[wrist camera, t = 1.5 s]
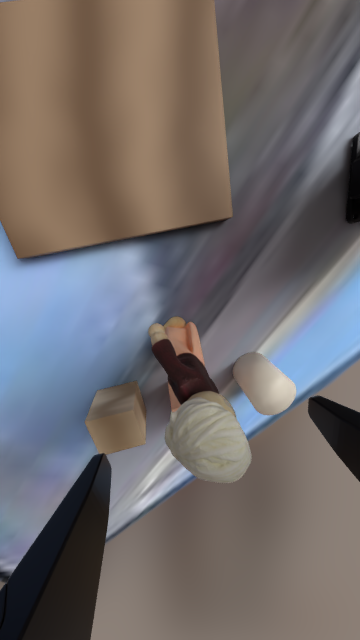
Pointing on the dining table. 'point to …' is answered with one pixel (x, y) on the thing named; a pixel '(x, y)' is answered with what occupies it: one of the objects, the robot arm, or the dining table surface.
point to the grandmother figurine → (198, 408)
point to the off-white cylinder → (264, 384)
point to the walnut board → (109, 121)
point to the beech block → (117, 418)
